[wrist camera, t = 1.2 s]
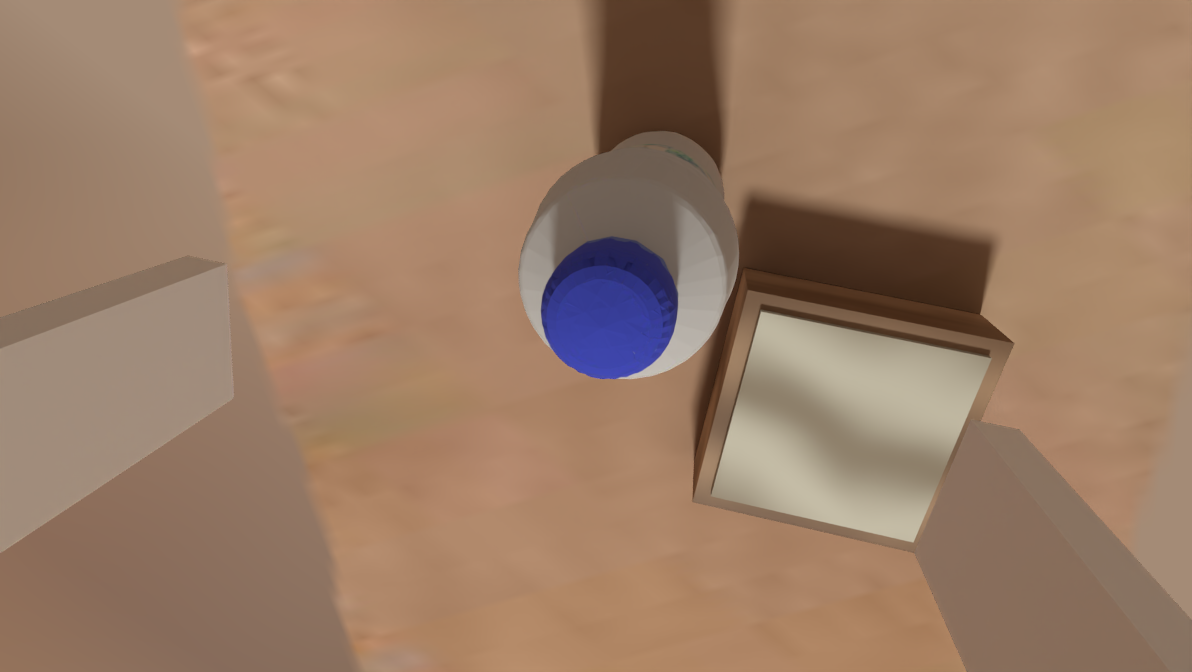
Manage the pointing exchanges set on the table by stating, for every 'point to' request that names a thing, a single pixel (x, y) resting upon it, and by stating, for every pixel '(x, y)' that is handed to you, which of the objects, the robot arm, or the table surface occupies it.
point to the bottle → (631, 258)
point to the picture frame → (842, 407)
